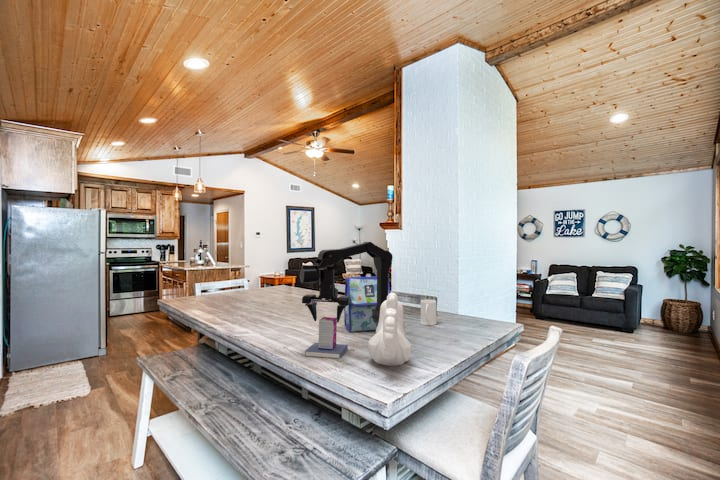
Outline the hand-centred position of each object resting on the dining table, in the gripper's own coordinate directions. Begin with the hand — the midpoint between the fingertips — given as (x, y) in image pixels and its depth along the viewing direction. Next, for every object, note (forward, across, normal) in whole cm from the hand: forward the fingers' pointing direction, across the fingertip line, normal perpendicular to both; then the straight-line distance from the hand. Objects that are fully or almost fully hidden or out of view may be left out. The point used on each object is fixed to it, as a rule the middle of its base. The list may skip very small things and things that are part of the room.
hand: (326, 321), depth 136 cm
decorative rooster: (+12, -25, +8) cm, 29 cm away
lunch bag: (+12, -8, -40) cm, 43 cm away
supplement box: (+10, 0, 0) cm, 10 cm away
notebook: (+12, 0, 0) cm, 12 cm away
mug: (+12, -37, -56) cm, 68 cm away
